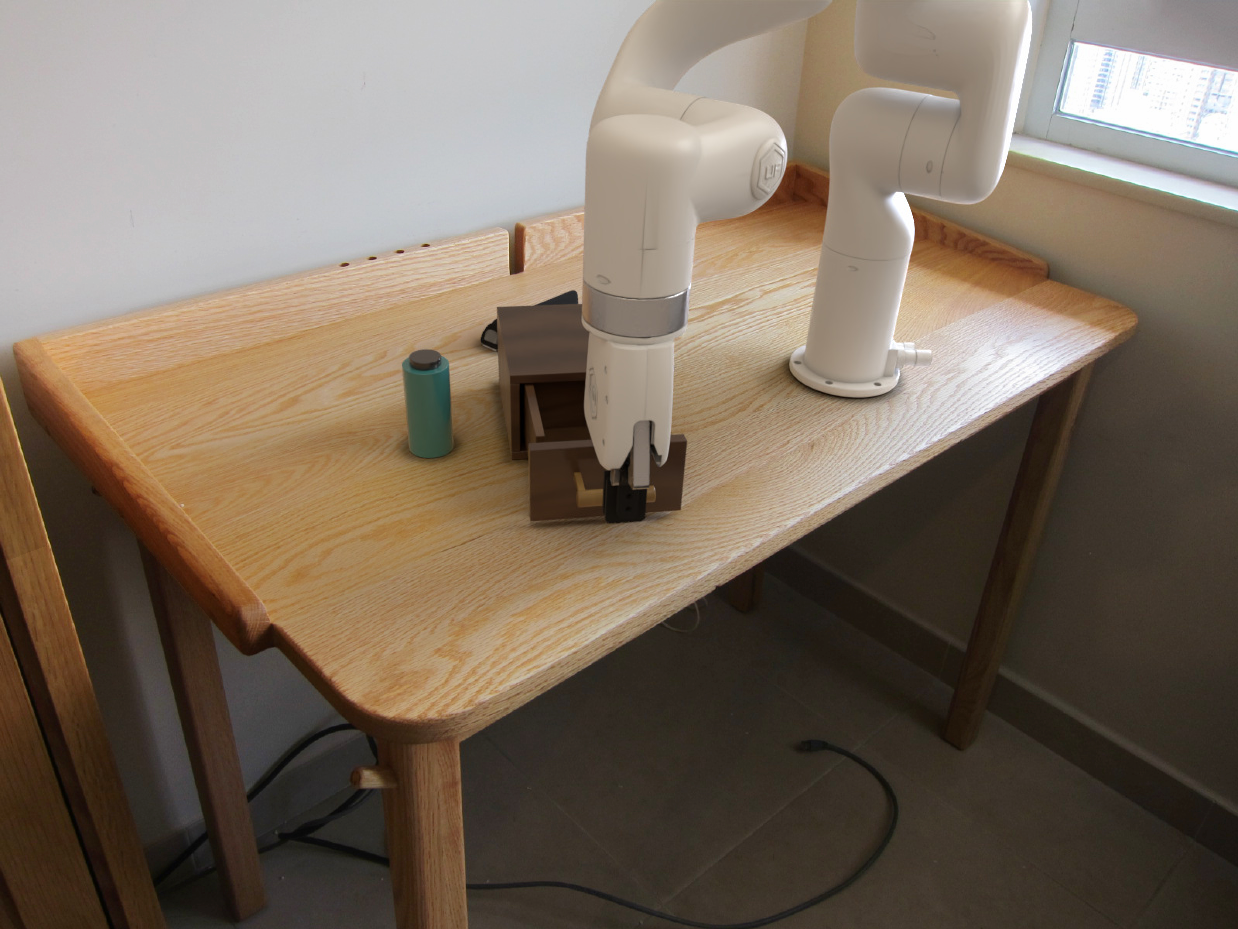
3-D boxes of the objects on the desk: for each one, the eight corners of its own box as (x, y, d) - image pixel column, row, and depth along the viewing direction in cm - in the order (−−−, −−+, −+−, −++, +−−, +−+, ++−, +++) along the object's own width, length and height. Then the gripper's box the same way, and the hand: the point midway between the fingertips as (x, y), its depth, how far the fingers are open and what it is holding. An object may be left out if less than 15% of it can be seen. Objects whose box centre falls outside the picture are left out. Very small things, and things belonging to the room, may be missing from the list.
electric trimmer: (586, 316, 126) (586, 292, 124) (500, 353, 115) (500, 328, 114) (563, 308, 128) (564, 284, 126) (477, 344, 117) (477, 319, 116)
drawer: (692, 539, 85) (699, 467, 81) (535, 551, 82) (535, 478, 78) (647, 428, 100) (652, 363, 96) (514, 436, 98) (513, 370, 94)
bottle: (456, 435, 99) (451, 346, 94) (450, 459, 96) (445, 367, 90) (413, 434, 99) (405, 344, 94) (405, 457, 96) (397, 365, 90)
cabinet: (659, 450, 99) (665, 368, 94) (511, 460, 96) (509, 375, 91) (629, 377, 112) (633, 301, 107) (498, 384, 109) (496, 306, 104)
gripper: (567, 265, 74) (564, 469, 84) (600, 352, 62) (591, 579, 72) (664, 262, 75) (649, 464, 85) (715, 347, 63) (691, 571, 73)
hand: (623, 516), depth 78 cm, fingers closed
